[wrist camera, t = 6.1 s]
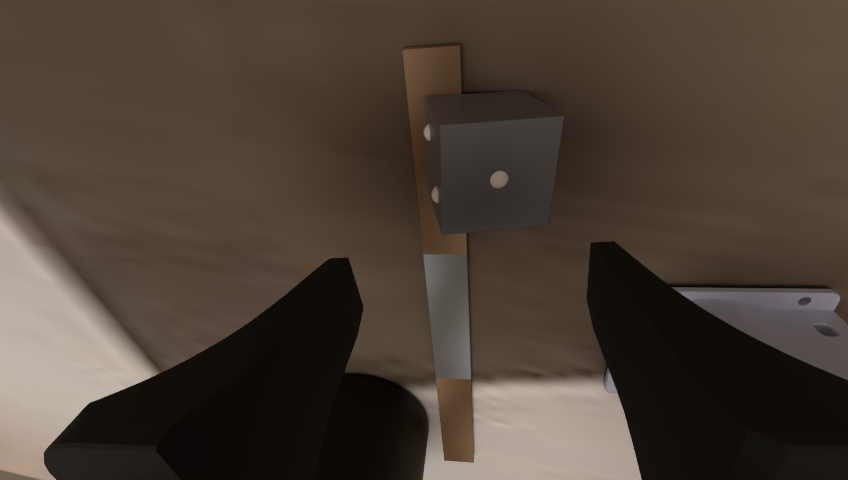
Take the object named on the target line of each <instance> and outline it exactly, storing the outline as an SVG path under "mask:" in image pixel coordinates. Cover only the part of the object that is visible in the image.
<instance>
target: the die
mask: <svg viewBox="0 0 848 480" xmlns="http://www.w3.org/2000/svg"><path fill="white" fill-rule="evenodd" d="M424 102H425V129H424V136H425V138H426V157H427V184H428V192H429V195H430V198H431V202H432V205H433V208H434V211H435V214H436V218H437V221H438V224H439V227H440V230H441V233H442V235H451V234H461V233H471V232H482V231H492V230H502V229H512V228H523V227H533V226H543V225H549V218H550V211H551V204H552V197H553V190H554V183H555V176H556V170H557V163H558V156H559V149H560V142H561V135H562V128H563V121H564V116H563V115H562V114H560V113H558V112H557V111H555V110H554V109H552V108H550V107H549V106H547V105H546V104H544V103H542V102H541V101H539V100H538V99H536V98H535V97H533V96H531V95H530V94H528V93H527V92H525V91H523V90H517V91H502V92H488V93H473V94H458V95H444V96H429V97H424Z"/></svg>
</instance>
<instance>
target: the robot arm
mask: <svg viewBox="0 0 848 480" xmlns="http://www.w3.org/2000/svg"><path fill="white" fill-rule="evenodd" d="M802 298H803V299H802ZM800 299H801V300H800ZM839 301H840V295H838V294H837V293H836V292H835V291H834V290H832V289H791V288H693V287H671V286H669V285H668V284H667V283H665V282H664V281H663V280H661V279H660V278H659V277H657V276H656V275H655V274H654V273H652V272H651V271H650V270H648V269H647V268H646V267H645V266H643V265H642V264H641V263H640V262H639V261H637V260H636V259H635V258H634V257H632V256H631V255H630V254H629V253H628V252H626V251H625V250H624V249H623V248H622V247H620V246H619V245H618V244H617V243H615V242H614V241H612V242H595V243H591V246H590V260H589V274H588V288H587V302H588V307H589V311H590V316H591V320H592V324H593V328H594V332H595V334H596V337H597V340H598V342H599V345H600V348H601V350H602V353H603V356H604V358H605V361H606V364H607V366H608V368H607V372H606V376H605V380H604V387H605V390H606V391H607V392H609V393H617V394H618V395H619V398H620V401H621V404H622V407H623V410H624V413H625V416H626V420H627V423H628V427H629V431H630V435H631V439H632V442H633V446H634V450H635V454H636V458H637V462H638V466H639V470H640V474H641V478H642V480H848V324H847V323H846V322H845V321H844V320H843V319H842V318H840V317H839V316H838V315H837V314H836V313H835V312H834V310H835V308H836V306H837V305H838V303H839ZM362 312H363V304H362V301H361V298H360V294H359V291H358V288H357V285H356V281H355V278H354V275H353V272H352V268H351V265H350V262H349V259H348V258H332V259H329V260H327V261H326V262H325V263H323V264H322V265H321V266H320V267H318V268H317V269H316V270H315V271H313V272H312V273H311V274H310V275H309V276H308V277H306V278H305V279H304V280H303V281H302V282H300V283H299V284H298V285H297V286H296V287H294V288H293V289H292V290H291V291H290V292H288V293H287V294H286V295H285V296H284V297H282V298H281V299H280V300H278V301H277V302H276V303H275V304H273V305H272V306H271V307H269V308H268V309H267V310H265V311H264V312H263V313H262V314H260V315H259V316H258V317H256V318H255V319H253V320H252V321H251V322H249V323H248V324H246V325H245V326H243V327H242V328H240V329H239V330H237V331H236V332H234V333H233V334H231V335H230V336H228V337H227V338H225V339H223V340H222V341H220V342H218V343H217V344H215V345H213V346H211V347H209V348H208V349H206V350H204V351H202V352H201V353H199V354H197V355H195V356H194V357H192V358H190V359H188V360H186V361H184V362H182V363H180V364H178V365H176V366H174V367H172V368H170V369H168V370H166V371H164V372H162V373H160V374H158V375H156V376H154V377H151V378H149V379H147V380H145V381H143V382H140V383H138V384H136V385H133V386H131V387H128V388H126V389H124V390H121V391H119V392H116V393H114V394H111V395H109V396H106V397H104V398H102V399H99V400H96V401H94V402H91V403H89V404H88V405H87V406H86V407H85V408H84V409H83V410H82V411H81V412H80V413H79V415H78V416H77V417H76V418H75V419H74V420H73V421H72V422H71V423H70V424H69V425H68V427H67V428H66V429H65V430H64V431H63V432H62V433H61V434H60V435H59V436H58V437H57V438H56V439H55V440H54V441H53V443H52V444H51V445H50V446H49V447H48V448H47V449H46V451H45V452H44V463H45V466H46V468H47V469H48V471H49V473H50V474H51V475H52V476H53V477H54V478H55V479H56V480H314V478H315V473H316V469H317V464H318V460H319V455H320V451H321V447H322V442H323V438H324V434H325V430H326V426H327V422H328V418H329V414H330V411H331V408H332V405H333V401H334V398H335V395H336V393H337V390H338V387H339V385H340V382H341V379H342V377H343V374H344V371H345V368H346V366H347V363H348V360H349V358H350V355H351V352H352V349H353V347H354V344H355V341H356V338H357V335H358V331H359V326H360V322H361V317H362Z"/></svg>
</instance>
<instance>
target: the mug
mask: <svg viewBox="0 0 848 480" xmlns="http://www.w3.org/2000/svg"><path fill="white" fill-rule="evenodd" d="M428 430H429V427H428V421H427V417H426V414H425V412H424V410H423V408H422V407H421V405H420V404H419V403H418V402H417V400H416V399H414V398H413V397H412V396H411V395H410V394H409V393H407V392H406V391H404V390H403V389H401V388H399V387H397V386H395V385H393V384H391V383H388V382H386V381H383V380H380V379H376V378H372V377H367V376H360V375H343V377H342V379H341V382H340V385H339V387H338V390H337V393H336V395H335V398H334V401H333V405H332V408H331V411H330V414H329V418H328V422H327V426H326V430H325V434H324V438H323V442H322V447H321V451H320V455H319V460H318V464H317V469H316V473H315V478H314V480H423V473H424V464H425V456H426V447H427V439H428Z"/></svg>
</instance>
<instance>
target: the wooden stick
mask: <svg viewBox="0 0 848 480" xmlns="http://www.w3.org/2000/svg"><path fill="white" fill-rule="evenodd" d="M402 52H403V61H404V71H405V81H406V90H407V100H408V110H409V120H410V129H411V139H412V149H413V159H414V168H415V178H416V188H417V198H418V207H419V217H420V227H421V236H422V246H423V256H424V266H425V275H426V285H427V295H428V305H429V314H430V324H431V334H432V344H433V353H434V363H435V373H436V383H437V392H438V402H439V412H440V421H441V431H442V441H443V451H444V460H445V461H459V462H472V463H474V444H473V413H472V381H471V350H470V319H469V287H468V256H467V233H461V234H451V235H442V233H441V230H440V227H439V224H438V221H437V218H436V214H435V211H434V208H433V205H432V202H431V198H430V195H429V192H428V184H427V157H426V138H425V136H424V129H425V102H424V97H429V96H444V95H458V94H462V67H461V43H458V44H445V45H432V46H419V47H406V48H404V49H403V50H402Z"/></svg>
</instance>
